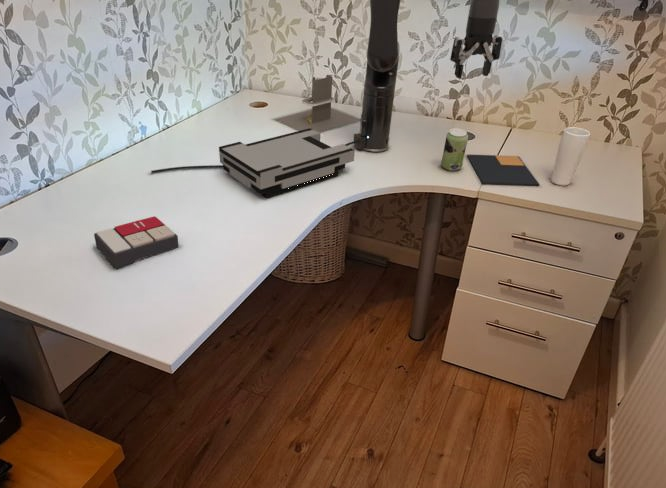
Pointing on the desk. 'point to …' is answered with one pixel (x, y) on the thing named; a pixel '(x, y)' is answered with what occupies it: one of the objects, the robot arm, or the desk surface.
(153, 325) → the desk surface
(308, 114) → the architectural model
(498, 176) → the desk mat
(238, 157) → the game console
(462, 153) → the beverage can
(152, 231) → the button panel
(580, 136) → the drinking glass
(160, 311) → the desk surface
